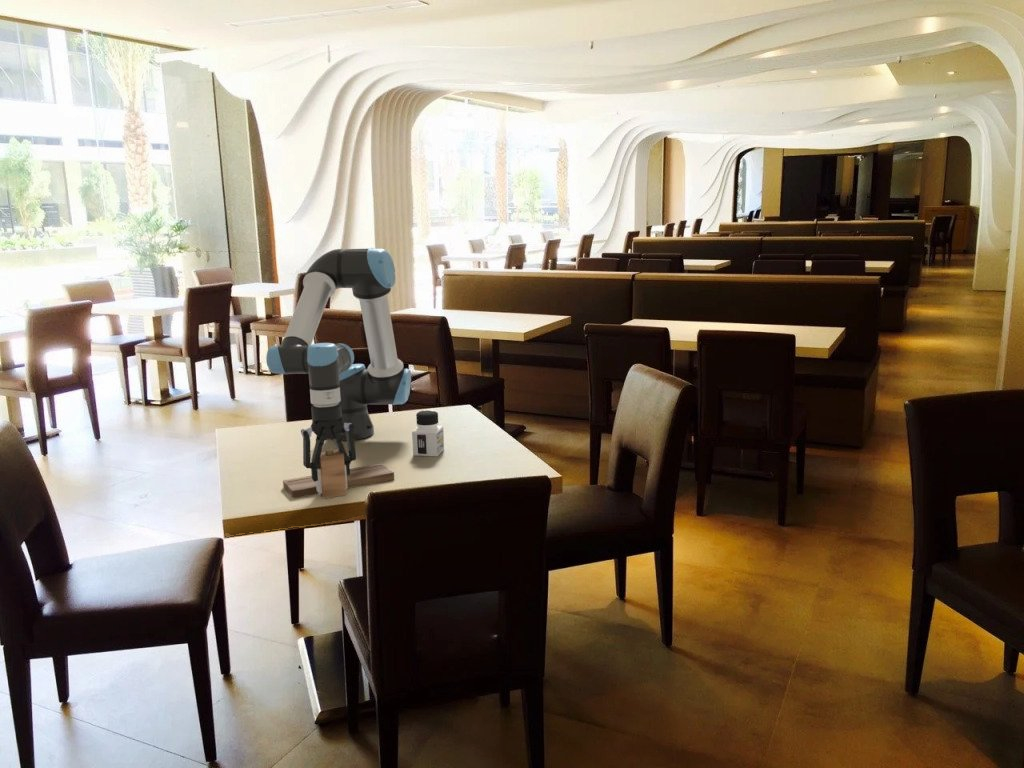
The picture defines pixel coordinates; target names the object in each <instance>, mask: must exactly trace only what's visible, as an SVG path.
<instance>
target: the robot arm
mask: <svg viewBox="0 0 1024 768" xmlns="http://www.w3.org/2000/svg"><path fill="white" fill-rule="evenodd" d="M395 273H396V268H395V263H394V261H393V258H392V256H391V254H390V253H389V252H388V251H387V250H386V249H384V248H374V247H369V248H336V249H332V250H329V251H327V252H326V253H324V254H322V255H320V256H319V257H318V258H317V259H316V260H315V261H314V262H313V263H312V264H311V265H310V266H309V268H308V269H307V270H306V272H305V275H304V276H303V277H304V278H303V280H302V285H303V289H302V292H301V295H300V296H299V299H298V302H297V304H296V306H295V310H294V312H293V314H292V317H291V319H290V322H289V324H288V326H287V329H286V331H285V333H284V334H285V335H284V337H283V339H282V341H281V344H280V345H278V344H276V345H272V346H270V347H269V348H268V349H267V352H266V358H265V359H266V366H267V367H268V370H269V371H270V372H271V373H272V374H279V375H294V374H295V375H296V374H299V375H301V374H303V375H305V374H306V375H308V380H309V394H310V397H309V398H310V404H311V407H310V410H311V424H310V427H307V428H306V429H304V428H302V429H300V434H301V436H302V442H303V443H302V447H303V449H302V451H303V453H302V455H303V456H302V458H303V460H302V461H303V462H302V463H303V467H305V468H306V469H310V472H311V476H312V479H313V481H316V490H317V492H318V493H319V494H318V495H320V494H321V493H322V482H321V469H320V468H319V467H318V464H319V459H320V455H321V452H323V451H322V450H323V446H324V444H325V441H328V440H333V441H334V443H335V445H336V448H337V450H339V451H340V452H341V453H343V454H344V465H345V480H346V490H347V489H349V488H347V475H350V469H351V467H350V465H351V463H352V462H354V461H356V460H357V453H356V446H355V440H361V439H362V440H363V439H366V438H369V437H372V436H373V435H374V434H375V426H374V424H373V421H372V419H371V416H370V414H369V412H368V405H392V406H395V405H404V404H406V402H407V401H408V399H409V396H410V392H411V385H412V371H411V370H410V369H409V368H407V367H406V368H404V367H405V366H404V362H403V361H402V360H401V359H399V358H398V354H397V353H398V352H397V347H396V341H395V335H394V329H393V328H394V327H393V323H392V322H393V321H392V318H391V309H390V306H389V305H390V303H389V300H388V299H389V297H388V295H389V294H390V293H391V292H392V288H393V287H394V285H395V284H396V274H395ZM337 289H338V290H339V289H352V294H353V297H354V298H355V299H357V300H358V301H359V306H360V310H361V315H362V316H361V317H362V321H363V322H362V323H363V328H364V333H365V338H366V339H365V340H366V345H367V349H368V354H369V355H368V356H369V359H370V364H369V365H368V366H367V368H366V366H365V364H363V363H354V361H355V354H354V351H353V350H352V348H351V347H350V346H349V345H348V344H346V343H339V342H338V343H333V342H318V343H313V340H314V337H315V336H316V332H317V330H318V327H319V326H320V325H319V324H320V321H321V320H322V317H323V314H324V312H325V310H326V306H327V304H328V301H329V298H330V297H331V296H333V295H334V294H335V292H336V290H337ZM312 343H313V344H312ZM312 433H314V435H316V437H315V444H314V448H313V452H312V457H311V437H312ZM343 441H346V444H347V445H346V446H347V451H348V454H347V451H346V448H345V446H344V444H343Z"/></svg>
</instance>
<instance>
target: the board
mask: <svg viewBox="0 0 1024 768" xmlns="http://www.w3.org/2000/svg"><path fill="white" fill-rule="evenodd" d="M393 480H395V471H393V470H391V469H390V468H388V467H387V466H385V464H383V463H380V462H379V463H375V464H370V465H364V466H359V467H358V466H357V467H353V468H350V475H347V488H348V489H349V488H350V489H351V488H355V487H362V486H367V485H371V484H372V485H373V484H377V483H383V482H387V481H388V482H389V481H393ZM282 483H283V484H282V486H283V487H282V488H283V489H284V490H285V491H286V492H287V493H288V494H289V495H290V497H291V498H292V499H297V498H301V497H308V496H313V495H317V494H318V495H320V494H319V493H318V492H317V490H316V481H313V479H312V475H308V476H302V477H297V478H296V477H295V478H291V479H283V480H282Z"/></svg>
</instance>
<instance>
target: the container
mask: <svg viewBox="0 0 1024 768" xmlns="http://www.w3.org/2000/svg"><path fill="white" fill-rule="evenodd" d="M415 415H416V417H415V418H416V428H415V429H413V430H412V432H411V439H412V451H413V452H412V455H413V456H414V457H415V456H416V457H418V456H419V457H422V456H423V457H438V456H439V455H440V454H441V453H442V452H443V451H445V443H444V442H445V439H444V438H445V436H444V426H443V425H439V414H438V411H436V410H433V409H424V410H420V411H418V412H417V413H416V414H415Z"/></svg>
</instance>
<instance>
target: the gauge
mask: <svg viewBox="0 0 1024 768" xmlns="http://www.w3.org/2000/svg"><path fill="white" fill-rule="evenodd" d="M318 467H319V468H320V469H321V482H322V493H321V494H319V495H320V496H321V498H323V499H324V500H325V499H329V498H334V497H340V496H344V495H345V496H346V495H347V489H346V480H345V465H344V454H343V453H341V452H340V451H339V450H338V449H327V450H325V451H321V455H320V459H319V464H318Z"/></svg>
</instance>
